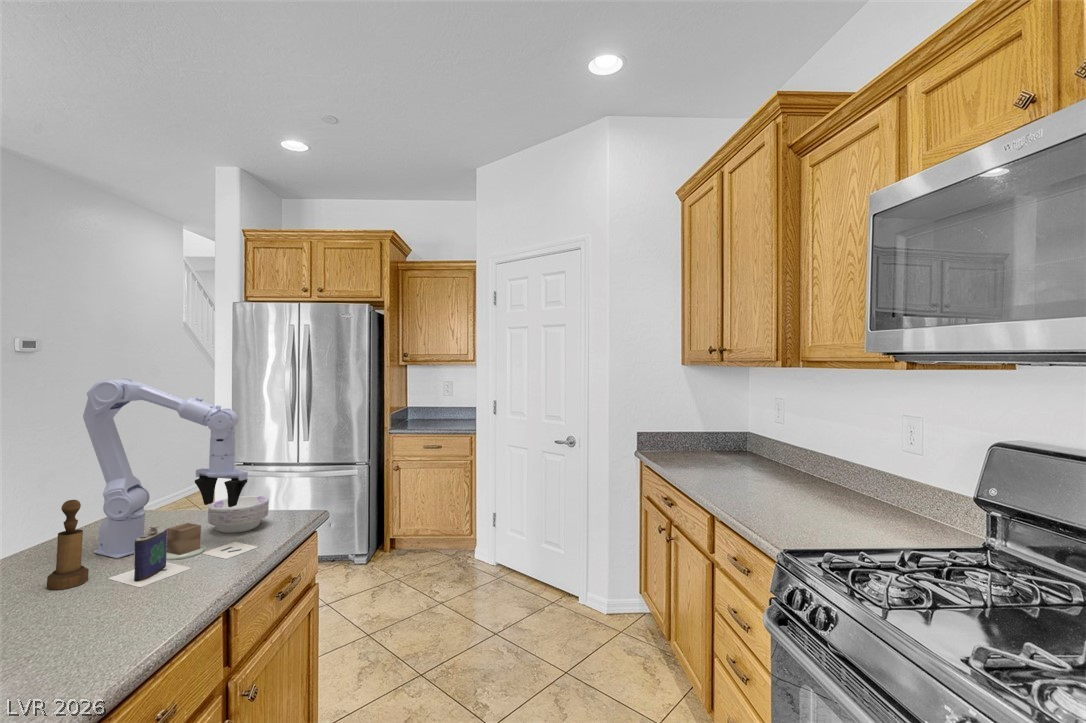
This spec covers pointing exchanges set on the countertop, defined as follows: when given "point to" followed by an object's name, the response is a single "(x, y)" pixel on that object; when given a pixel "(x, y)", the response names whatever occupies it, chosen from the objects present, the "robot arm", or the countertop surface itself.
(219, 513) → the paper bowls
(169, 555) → the plate
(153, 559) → the flask
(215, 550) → the code tile
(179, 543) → the walnut block
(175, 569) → the code tile
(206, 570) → the countertop surface
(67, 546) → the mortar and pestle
